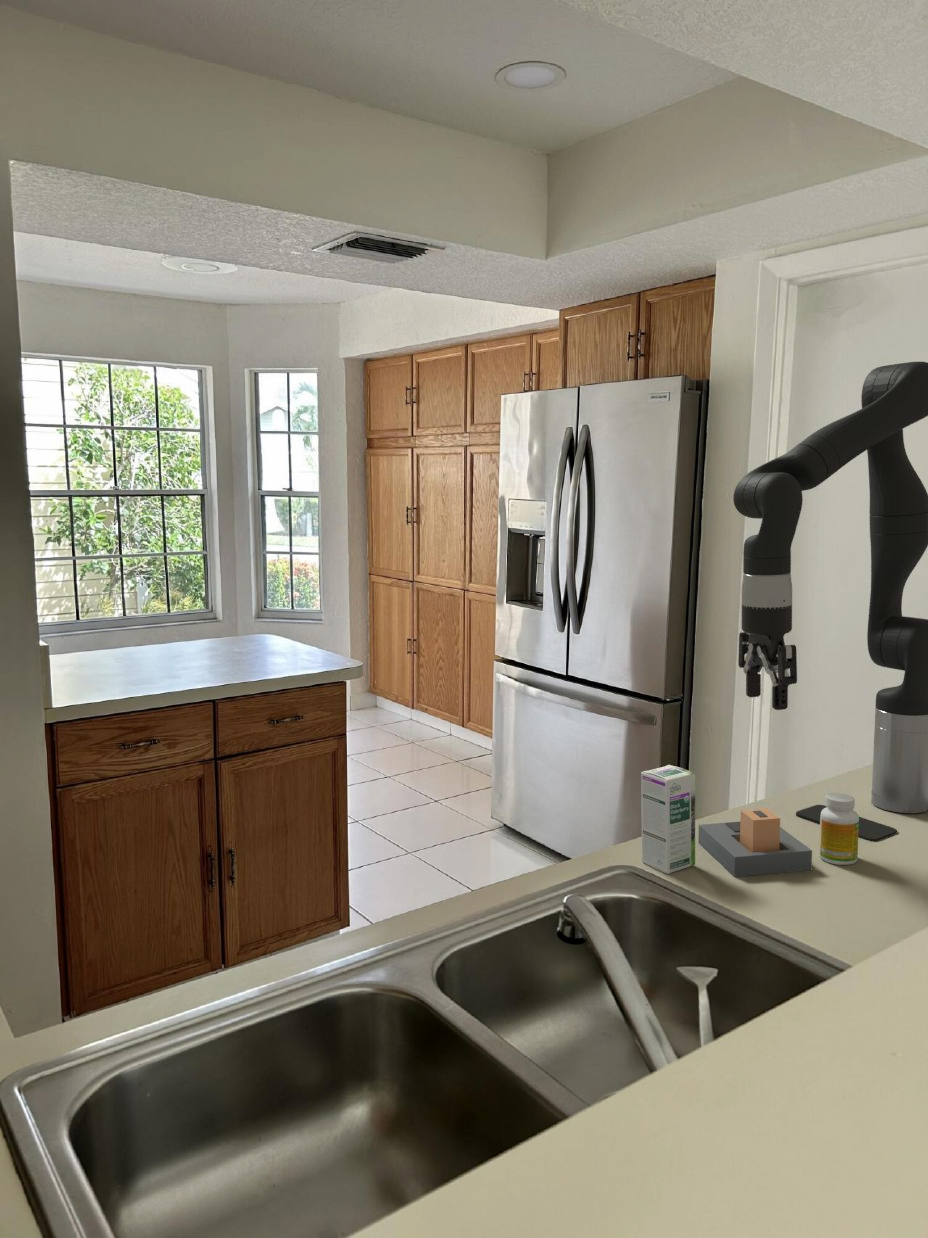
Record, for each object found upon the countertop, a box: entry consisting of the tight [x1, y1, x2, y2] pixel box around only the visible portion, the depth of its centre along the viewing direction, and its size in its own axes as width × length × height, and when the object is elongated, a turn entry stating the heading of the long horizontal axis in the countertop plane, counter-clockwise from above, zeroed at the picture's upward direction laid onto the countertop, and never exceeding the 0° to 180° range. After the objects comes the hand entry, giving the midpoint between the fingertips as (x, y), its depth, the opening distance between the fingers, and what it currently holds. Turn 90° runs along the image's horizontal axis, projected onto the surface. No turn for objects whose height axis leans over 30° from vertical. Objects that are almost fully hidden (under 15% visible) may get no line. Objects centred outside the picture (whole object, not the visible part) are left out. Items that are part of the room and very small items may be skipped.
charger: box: [739, 808, 781, 853], centre depth 137 cm, size 4×4×7 cm
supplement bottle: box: [818, 792, 860, 866], centre depth 137 cm, size 5×5×10 cm
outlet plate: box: [697, 821, 813, 878], centre depth 139 cm, size 12×13×3 cm
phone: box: [795, 804, 898, 842], centre depth 152 cm, size 7×1×15 cm
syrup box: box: [640, 764, 696, 875], centre depth 136 cm, size 6×6×14 cm
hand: (766, 702), depth 145 cm, fingers open, 8 cm apart
